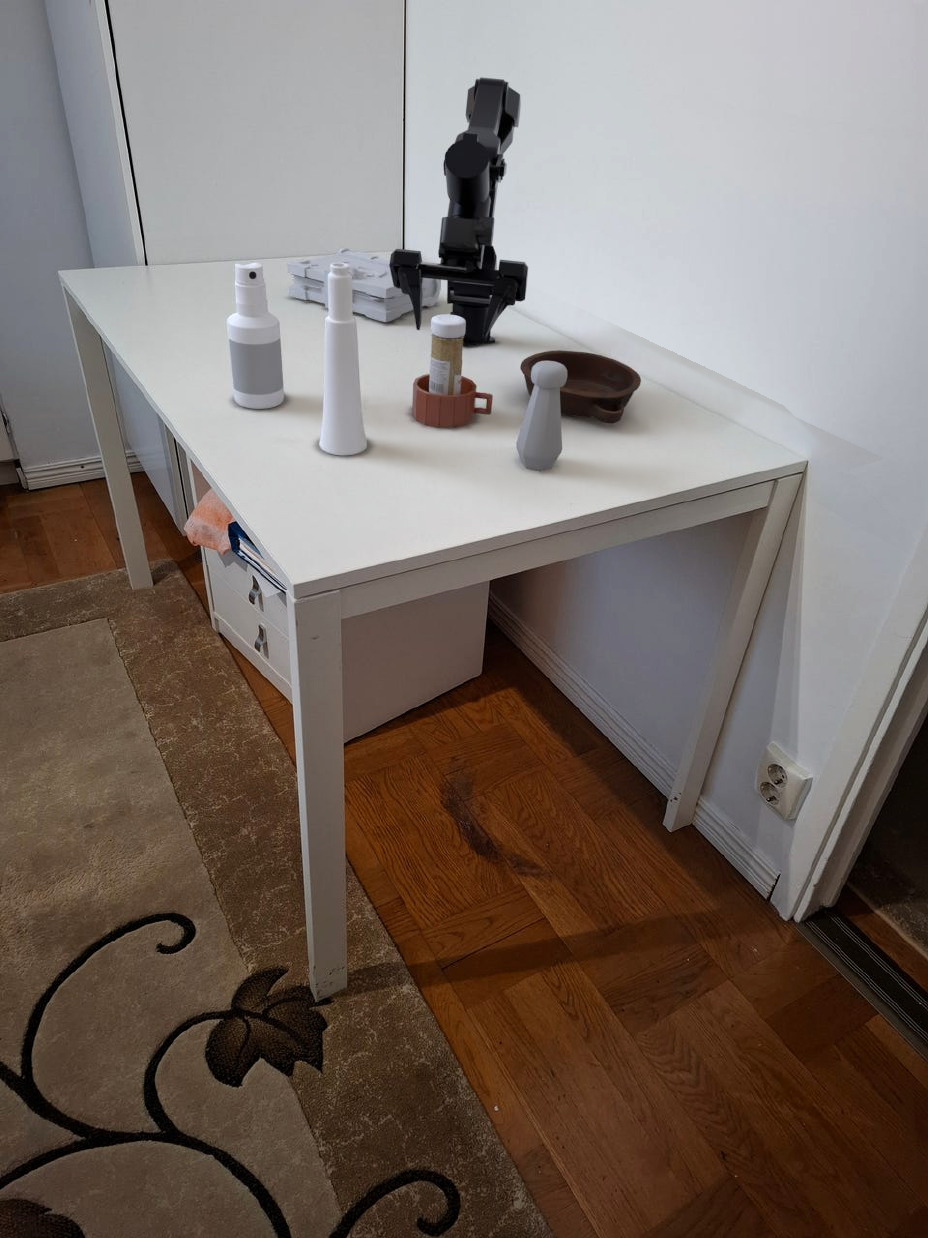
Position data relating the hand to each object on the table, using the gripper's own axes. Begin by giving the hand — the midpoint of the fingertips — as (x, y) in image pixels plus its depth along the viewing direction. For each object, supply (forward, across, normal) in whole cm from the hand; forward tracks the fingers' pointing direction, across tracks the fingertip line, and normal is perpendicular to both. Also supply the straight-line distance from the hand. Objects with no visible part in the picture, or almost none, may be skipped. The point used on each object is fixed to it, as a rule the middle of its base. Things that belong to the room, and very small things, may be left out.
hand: (451, 332), depth 112 cm
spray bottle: (+11, -26, +4) cm, 28 cm away
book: (-26, -24, +41) cm, 54 cm away
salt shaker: (+18, +14, -3) cm, 23 cm away
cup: (+10, +1, +5) cm, 11 cm away
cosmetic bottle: (+19, -11, -4) cm, 23 cm away
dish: (+3, +18, +13) cm, 23 cm away
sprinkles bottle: (+10, 0, +5) cm, 11 cm away
